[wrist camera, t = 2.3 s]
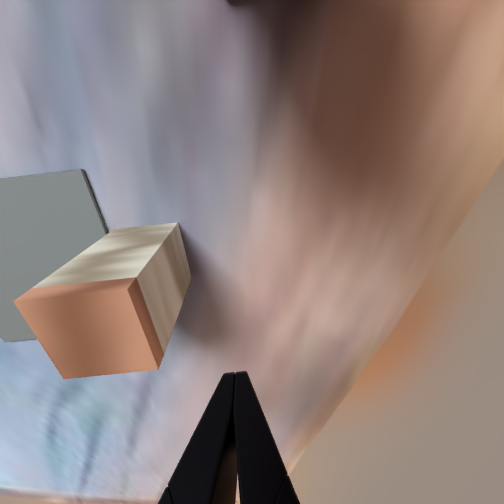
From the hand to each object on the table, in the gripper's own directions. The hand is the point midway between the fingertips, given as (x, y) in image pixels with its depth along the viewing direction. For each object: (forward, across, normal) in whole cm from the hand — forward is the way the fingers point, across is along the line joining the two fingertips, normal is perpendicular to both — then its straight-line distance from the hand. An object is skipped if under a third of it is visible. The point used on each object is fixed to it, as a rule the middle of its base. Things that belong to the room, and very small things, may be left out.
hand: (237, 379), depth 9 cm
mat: (+12, +16, 0) cm, 20 cm away
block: (+12, +7, 0) cm, 14 cm away
